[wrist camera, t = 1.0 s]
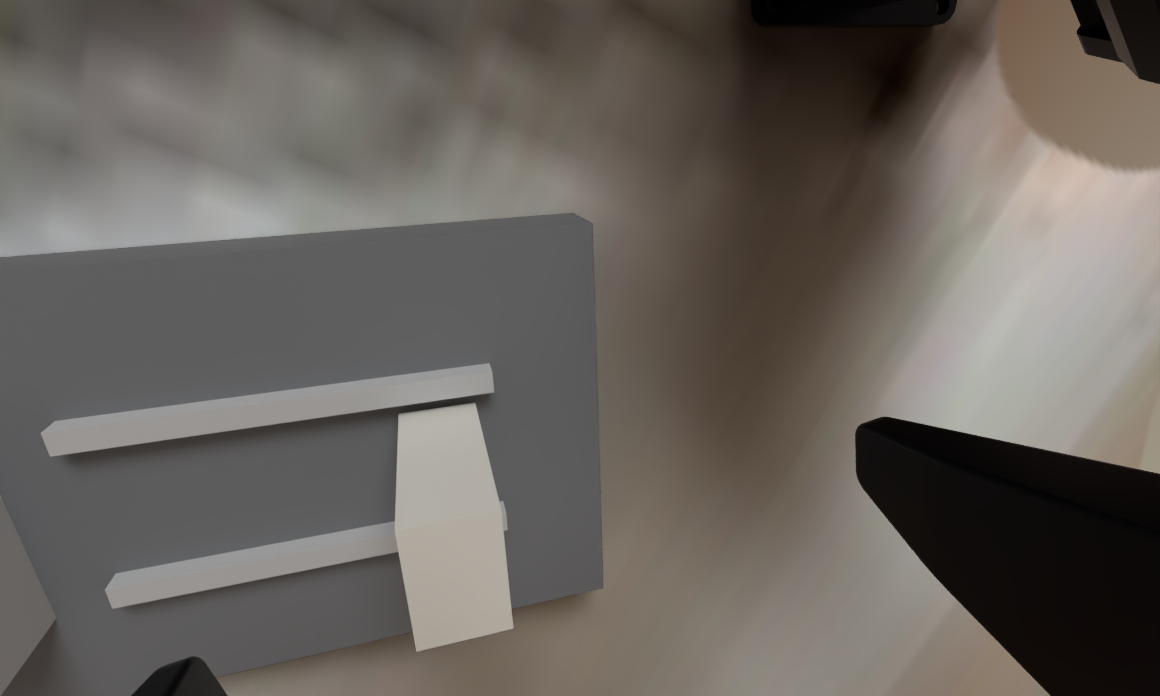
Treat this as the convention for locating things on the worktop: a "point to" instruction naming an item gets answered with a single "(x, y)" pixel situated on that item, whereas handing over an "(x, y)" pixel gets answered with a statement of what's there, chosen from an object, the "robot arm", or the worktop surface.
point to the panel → (276, 438)
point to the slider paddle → (449, 528)
